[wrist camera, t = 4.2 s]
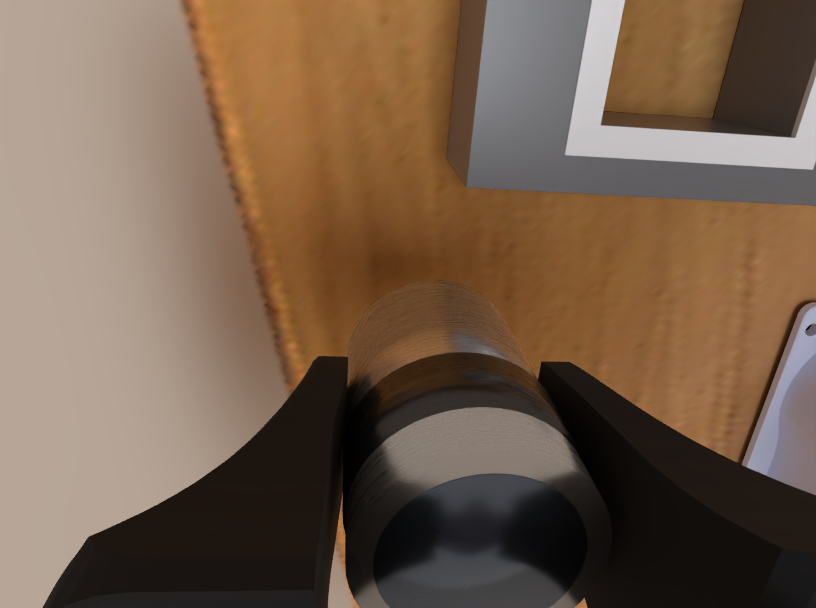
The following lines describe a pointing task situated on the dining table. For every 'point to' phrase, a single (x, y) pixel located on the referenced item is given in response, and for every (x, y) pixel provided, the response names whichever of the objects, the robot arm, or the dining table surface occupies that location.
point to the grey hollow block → (629, 132)
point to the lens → (460, 464)
